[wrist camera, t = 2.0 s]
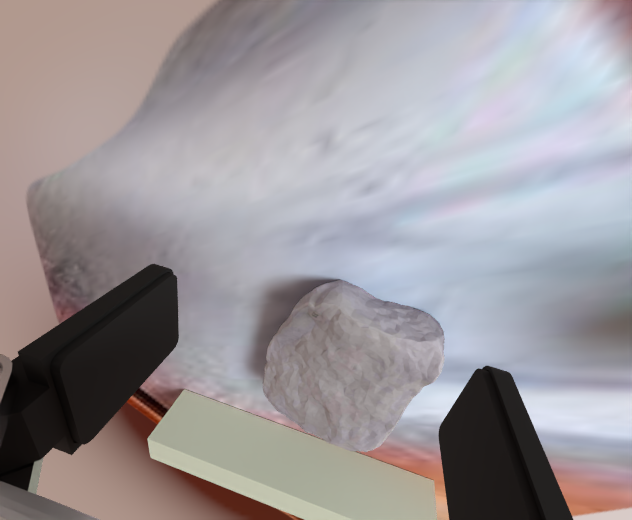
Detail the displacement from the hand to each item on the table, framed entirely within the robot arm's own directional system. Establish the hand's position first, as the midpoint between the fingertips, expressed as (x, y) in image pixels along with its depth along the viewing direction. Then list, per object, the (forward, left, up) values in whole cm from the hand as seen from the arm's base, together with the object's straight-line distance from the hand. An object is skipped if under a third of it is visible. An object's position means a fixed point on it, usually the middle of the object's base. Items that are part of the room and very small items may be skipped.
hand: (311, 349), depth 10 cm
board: (+22, 0, -10) cm, 24 cm away
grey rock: (+9, +1, -10) cm, 14 cm away
